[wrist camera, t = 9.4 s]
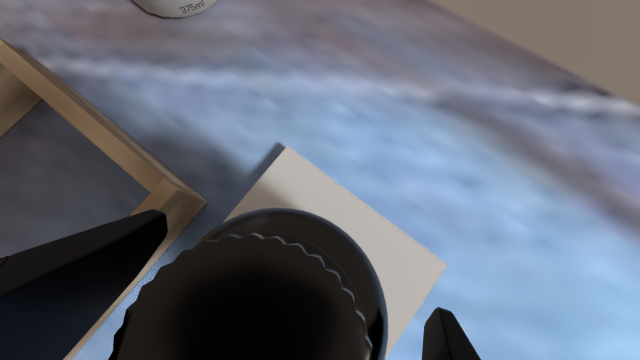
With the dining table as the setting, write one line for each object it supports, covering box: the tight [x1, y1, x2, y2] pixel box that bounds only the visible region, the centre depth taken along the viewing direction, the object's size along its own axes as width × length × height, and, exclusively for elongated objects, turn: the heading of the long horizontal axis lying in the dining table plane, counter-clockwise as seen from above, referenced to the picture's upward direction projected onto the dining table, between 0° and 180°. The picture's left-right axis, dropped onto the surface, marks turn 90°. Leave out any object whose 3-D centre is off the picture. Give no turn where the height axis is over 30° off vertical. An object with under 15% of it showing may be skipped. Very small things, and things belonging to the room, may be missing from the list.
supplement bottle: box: [108, 208, 388, 360], centre depth 11 cm, size 7×7×12 cm
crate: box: [0, 38, 208, 360], centre depth 17 cm, size 16×16×4 cm
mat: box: [222, 146, 447, 359], centre depth 17 cm, size 12×12×1 cm
